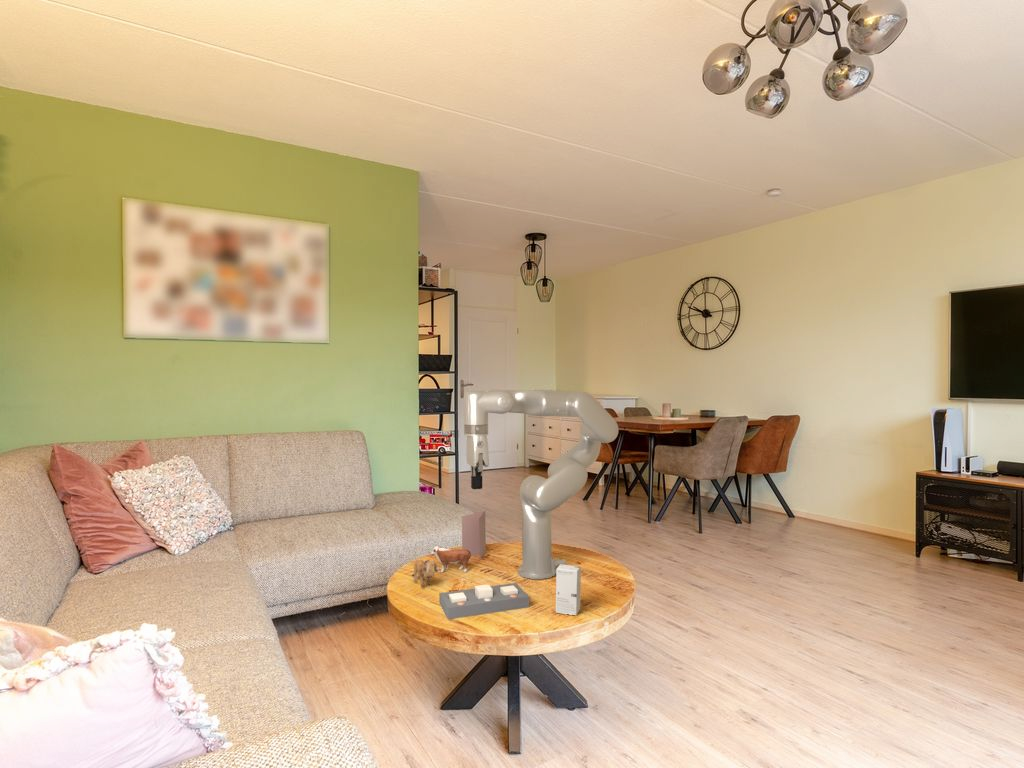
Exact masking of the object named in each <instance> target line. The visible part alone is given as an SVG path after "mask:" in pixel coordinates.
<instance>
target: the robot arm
mask: <svg viewBox="0 0 1024 768" xmlns="http://www.w3.org/2000/svg"><path fill="white" fill-rule="evenodd" d="M507 413H511V414H522V415H523V414H525V415H529V416H536V417H559V418H560V417H562V418H563V417H566V418H579V420H580V421H581V423H580V428H579V437H578V441H577V442H576V444H575V445H573V446H571V448H570V449H568V450H567V451H566V452H564V453H563V454H562V455H560V456H559V457H557V458H555V459H554V461H552V462H551V463H550V464H549V466H548V468H547V476H548V477H547V478H545V477H542V476H540V475H536V474H535V475H533V474H532V475H529V476H527V477H525V478H524V479H523V481H522V482H521V484H520V487H519V499H520V506H521V508H520V509H521V523H522V524H521V531H522V532H521V534H522V535H521V541H522V542H521V545H522V547H521V548H522V549H521V550H522V552H521V553H522V565H521V566H519V567H518V568H517V574H518V575H519V576H520V577H522V578H524V577H525V579H529V578H530V580H546V579H550V578H552V576H553V577H554V576H556V575H555V574H556V569H557V568H558V566H559V565H560V564H564V565H567V562H566V559H564V558H563V559H560V558H557V557H556V558H553V557H552V556H553V555H552V513H551V512H552V511H555V510H556V509H558V508H559V507H560V506H561V505H563V504H564V503H566V502H567V501H568V500H569V499H571V498H572V497H573V496H574V495H576V494H577V493H578V492H580V491H581V490H583V488H584V487H585V485H586V483H587V480H588V468H590V467H591V466H592V465H593V464H594V463H595V462H596V461H597V459H598V457H599V455H600V451H601V447H602V444H608V443H611V442H614V441H615V440H616V438H618V435H619V425H618V423H617V421H616V419H615V418H614V417H613V416H612V415H611V414H610V413H609V412H608V411H607V410H606V409H605V408H604V406H603V405H602V403H600V402H599V401H598V400H597V399H596V398H595V397H594V396H592V394H590V393H588V392H585V391H572V390H569V391H568V390H546V389H545V390H544V389H531V390H513V389H511V390H509V389H508V390H507V389H489V390H488V391H485V390H484V391H483V390H468V391H466V392H465V393H464V394H463V424H464V425H463V433H464V436H466V463H467V465H469V466H470V475H471V476H470V480H471V481H470V484H471V485H470V487H471V489H472V490H482V489H483V472H484V467H485V468H488V467H489V466H490V462H489V460H490V459H489V444H488V437H487V436H488V435H489V414H498V415H499V414H500V415H502V414H503V415H504V414H507ZM549 577H550V578H549ZM545 578H546V579H545Z"/></svg>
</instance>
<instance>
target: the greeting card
mask: <svg viewBox="0 0 1024 768" xmlns="http://www.w3.org/2000/svg"><path fill="white" fill-rule="evenodd" d="M486 531H487V530H486V510H481V511H477V512H475V513H470V514H466V515H461V550H464V549H468V550H469V551H470V552H471V557H472V556H475V555H478V561H479V562H480V561H481V560H482V559H483V556H484V555H485V553H486V552H487V550H486V549H487V548H486V547H487V544H486V543H487V542H486V538H487V535H486ZM469 556H470V554H469Z"/></svg>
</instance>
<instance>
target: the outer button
mask: <svg viewBox="0 0 1024 768" xmlns="http://www.w3.org/2000/svg"><path fill="white" fill-rule="evenodd" d="M449 600H450V602H451V603H454V602H461V601H466V596H465V595H464V593H463V592H461V593H454V594H449Z"/></svg>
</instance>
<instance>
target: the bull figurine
mask: <svg viewBox="0 0 1024 768" xmlns="http://www.w3.org/2000/svg"><path fill="white" fill-rule="evenodd" d="M431 554H432V555H434V556H435V557H436V558H437V560H438V561H439V563H440V564H442V565H441V570H440V572H439V573H440V574H443V573H444V572H445V571H448V570H449V569H450V567H449V564H453V565H454V566H457V565H458V563H459V562H461V564H460V566H459V568H457V570H458V571H461V570H463V569H464V570H463V573H467V572H468V567H469V560H470V558H471V557H472V556H471V552H470V551H469V550H468V549H464V550H462V549H449V548H444V547H443V546H439V545H436V546H434V548H432V551H431ZM469 554H470V556H469ZM442 572H443V573H442Z"/></svg>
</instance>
